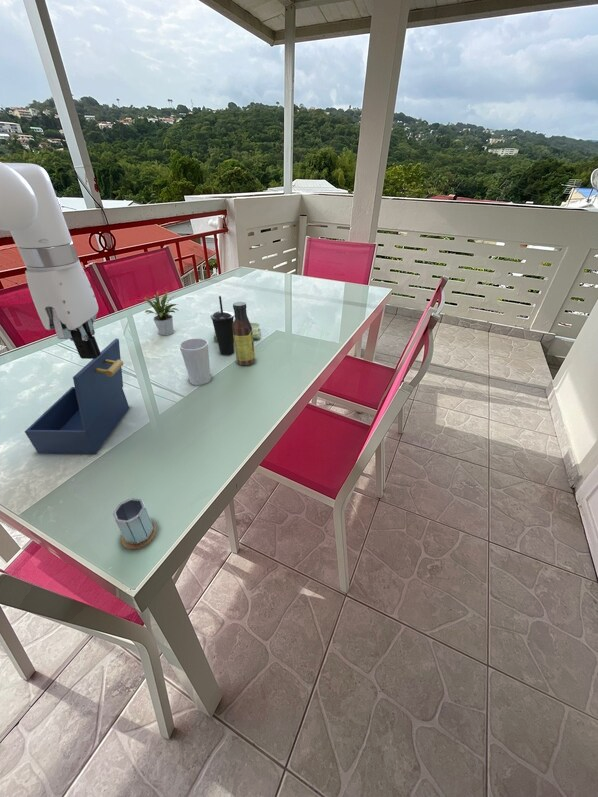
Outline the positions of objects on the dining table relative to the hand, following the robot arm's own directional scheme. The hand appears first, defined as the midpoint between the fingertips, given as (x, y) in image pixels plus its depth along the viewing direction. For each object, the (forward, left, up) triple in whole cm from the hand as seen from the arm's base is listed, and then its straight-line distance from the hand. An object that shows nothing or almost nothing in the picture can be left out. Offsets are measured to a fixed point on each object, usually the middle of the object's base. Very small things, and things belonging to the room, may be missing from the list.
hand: (91, 356), depth 64 cm
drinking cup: (+41, +30, -24) cm, 56 cm away
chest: (-6, +12, -23) cm, 27 cm away
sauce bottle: (+43, +20, -24) cm, 53 cm away
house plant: (+28, +59, -24) cm, 69 cm away
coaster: (-4, -26, -23) cm, 35 cm away
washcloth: (+51, +41, -24) cm, 69 cm away
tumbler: (-4, -26, -23) cm, 35 cm away
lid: (0, +7, -9) cm, 12 cm away
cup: (+26, +18, -24) cm, 39 cm away
